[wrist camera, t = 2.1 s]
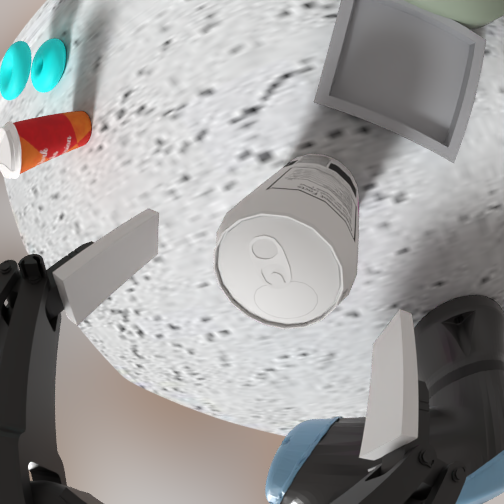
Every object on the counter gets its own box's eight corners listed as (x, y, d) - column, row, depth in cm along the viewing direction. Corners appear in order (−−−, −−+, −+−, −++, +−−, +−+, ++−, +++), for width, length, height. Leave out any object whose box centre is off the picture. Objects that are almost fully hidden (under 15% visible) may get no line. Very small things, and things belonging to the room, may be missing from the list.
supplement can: (367, 222, 26) (368, 329, 14) (292, 238, 30) (237, 338, 17) (344, 143, 23) (331, 180, 11) (265, 166, 27) (179, 225, 15)
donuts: (0, 52, 19) (20, 33, 16) (44, 46, 27) (72, 31, 25) (-4, 105, 24) (14, 96, 22) (41, 94, 32) (67, 86, 30)
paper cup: (71, 153, 36) (0, 182, 24) (67, 109, 32) (-8, 130, 20) (99, 149, 33) (17, 181, 22) (94, 99, 29) (8, 118, 18)
